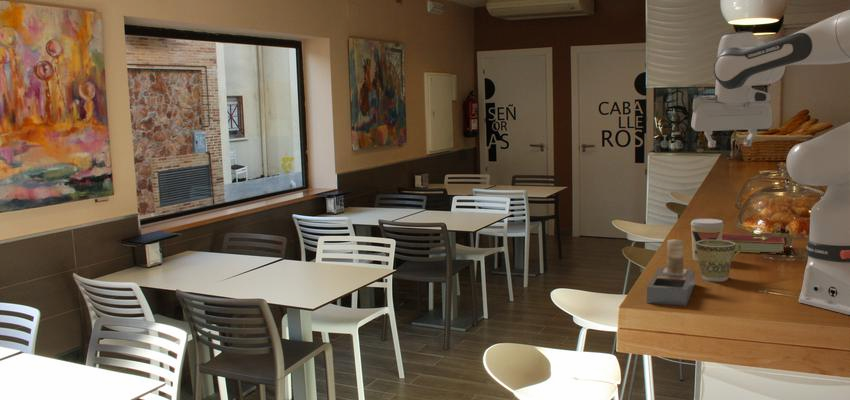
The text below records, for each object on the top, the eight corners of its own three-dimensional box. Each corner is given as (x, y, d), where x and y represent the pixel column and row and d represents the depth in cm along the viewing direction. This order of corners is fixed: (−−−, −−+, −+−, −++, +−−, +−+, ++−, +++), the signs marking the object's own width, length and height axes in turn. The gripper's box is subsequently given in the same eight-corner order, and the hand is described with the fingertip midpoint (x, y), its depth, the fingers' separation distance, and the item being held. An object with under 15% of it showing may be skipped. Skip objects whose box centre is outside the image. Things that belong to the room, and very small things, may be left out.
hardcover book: (713, 245, 257) (713, 232, 256) (782, 248, 249) (783, 235, 248) (712, 252, 246) (712, 239, 245) (784, 255, 238) (785, 242, 237)
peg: (686, 271, 200) (686, 241, 199) (672, 273, 199) (673, 242, 198) (677, 268, 204) (677, 239, 203) (664, 269, 203) (664, 240, 202)
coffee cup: (687, 261, 231) (688, 222, 229) (692, 255, 239) (693, 217, 237) (720, 264, 226) (721, 224, 225) (724, 258, 235) (725, 219, 233)
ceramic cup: (710, 284, 203) (711, 247, 202) (687, 276, 213) (688, 241, 211) (752, 280, 207) (753, 243, 205) (728, 272, 216) (728, 237, 215)
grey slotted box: (686, 305, 184) (686, 288, 183) (646, 302, 188) (646, 285, 187) (694, 284, 204) (694, 268, 203) (658, 282, 207) (658, 266, 207)
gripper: (697, 97, 198) (694, 150, 202) (776, 94, 198) (772, 147, 201) (689, 94, 204) (686, 145, 208) (766, 91, 204) (762, 143, 207)
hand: (729, 146), depth 205 cm, fingers open, 8 cm apart
